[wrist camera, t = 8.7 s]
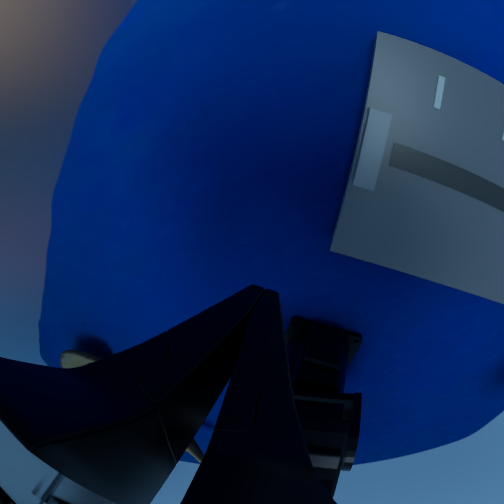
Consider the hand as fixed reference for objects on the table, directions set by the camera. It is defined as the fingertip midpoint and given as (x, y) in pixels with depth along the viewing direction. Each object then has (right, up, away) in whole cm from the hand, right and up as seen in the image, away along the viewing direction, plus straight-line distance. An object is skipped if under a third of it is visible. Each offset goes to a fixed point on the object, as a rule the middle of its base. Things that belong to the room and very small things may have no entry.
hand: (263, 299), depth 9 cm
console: (+17, +5, +5) cm, 19 cm away
